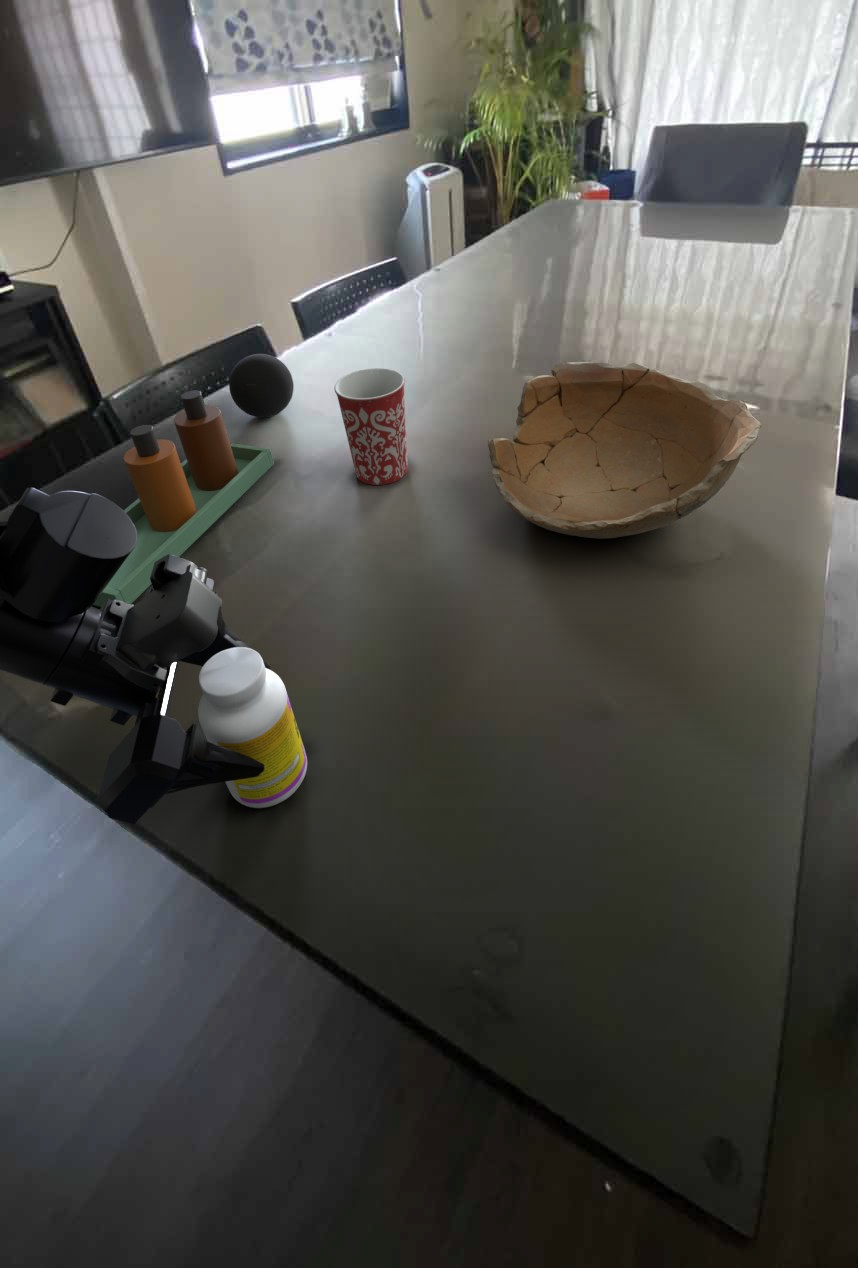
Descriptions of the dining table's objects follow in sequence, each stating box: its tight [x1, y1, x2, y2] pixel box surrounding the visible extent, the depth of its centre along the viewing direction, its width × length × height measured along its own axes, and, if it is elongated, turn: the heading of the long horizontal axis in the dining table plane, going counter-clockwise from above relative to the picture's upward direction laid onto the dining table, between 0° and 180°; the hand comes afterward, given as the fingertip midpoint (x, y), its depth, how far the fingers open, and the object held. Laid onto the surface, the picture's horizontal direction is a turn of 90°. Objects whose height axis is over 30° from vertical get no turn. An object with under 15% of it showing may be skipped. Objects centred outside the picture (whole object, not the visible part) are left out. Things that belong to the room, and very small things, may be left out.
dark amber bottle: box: [173, 389, 238, 491], centre depth 91 cm, size 6×6×13 cm
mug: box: [333, 367, 409, 486], centre depth 92 cm, size 13×9×14 cm
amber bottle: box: [123, 424, 197, 532], centre depth 84 cm, size 6×6×13 cm
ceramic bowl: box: [487, 361, 763, 540], centre depth 82 cm, size 30×27×15 cm
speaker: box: [228, 353, 295, 418], centre depth 109 cm, size 10×10×10 cm
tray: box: [92, 442, 275, 608], centre depth 88 cm, size 32×11×3 cm, turn 159°
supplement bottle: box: [197, 647, 308, 809], centre depth 53 cm, size 7×7×13 cm
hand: (265, 718), depth 53 cm, fingers open, 9 cm apart
